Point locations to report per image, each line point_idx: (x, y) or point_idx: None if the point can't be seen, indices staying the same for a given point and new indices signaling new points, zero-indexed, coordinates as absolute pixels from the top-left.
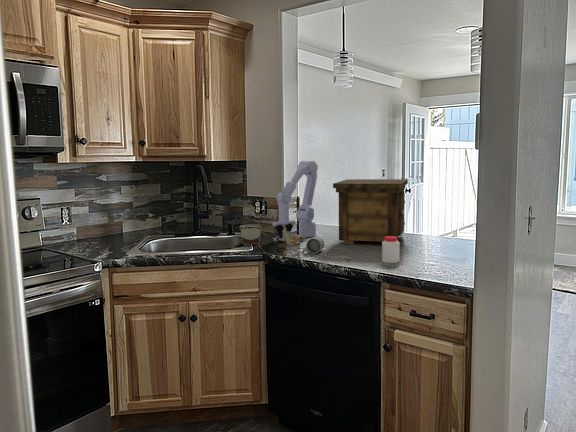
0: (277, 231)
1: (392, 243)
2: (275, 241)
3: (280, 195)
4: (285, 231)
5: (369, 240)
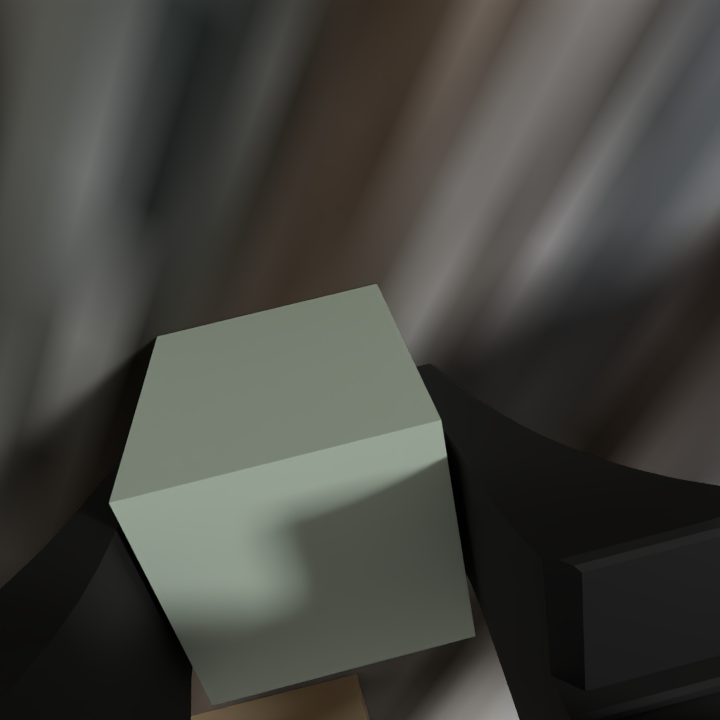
0: (20, 586)
1: None
2: (13, 454)
3: None
4: (350, 593)
5: None
